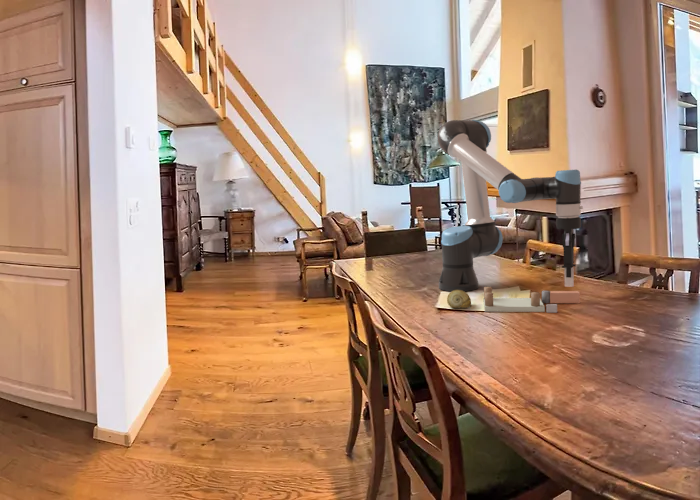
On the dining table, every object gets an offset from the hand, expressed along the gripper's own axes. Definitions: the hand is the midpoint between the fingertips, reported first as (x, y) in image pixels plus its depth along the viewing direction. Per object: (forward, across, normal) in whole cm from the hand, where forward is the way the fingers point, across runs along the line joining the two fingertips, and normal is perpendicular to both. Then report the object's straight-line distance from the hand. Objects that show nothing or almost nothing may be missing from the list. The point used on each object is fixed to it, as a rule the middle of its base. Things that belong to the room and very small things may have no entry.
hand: (569, 286), depth 164 cm
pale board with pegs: (+4, -16, +14) cm, 22 cm away
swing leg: (+4, -7, +2) cm, 8 cm away
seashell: (+4, -20, +32) cm, 38 cm away
